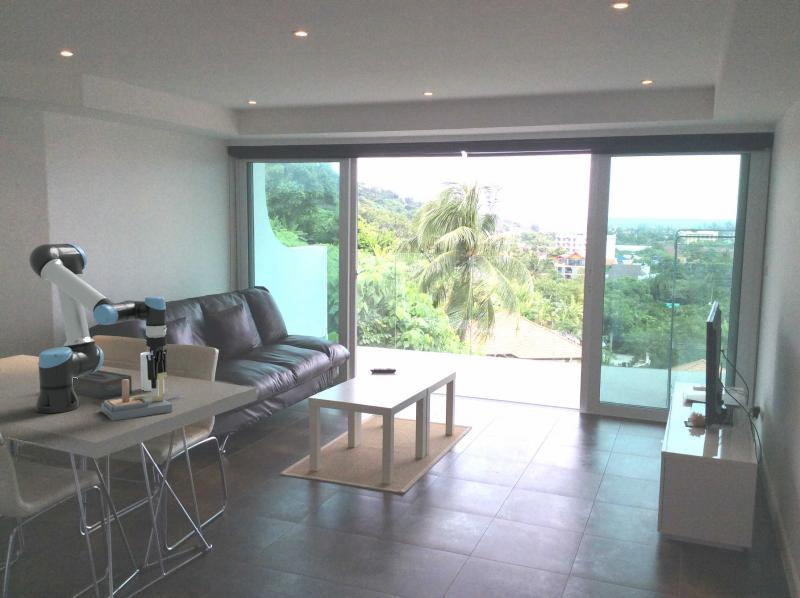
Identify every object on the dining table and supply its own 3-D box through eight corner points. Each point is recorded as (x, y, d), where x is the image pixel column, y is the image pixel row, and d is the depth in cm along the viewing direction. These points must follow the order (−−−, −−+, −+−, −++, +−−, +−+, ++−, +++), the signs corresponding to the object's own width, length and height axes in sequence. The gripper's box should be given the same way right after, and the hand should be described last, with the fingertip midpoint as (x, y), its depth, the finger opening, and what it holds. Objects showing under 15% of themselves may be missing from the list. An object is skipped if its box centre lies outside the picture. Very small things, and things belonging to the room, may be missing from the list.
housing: (112, 420, 249) (112, 408, 248) (101, 411, 261) (101, 399, 261) (172, 411, 262) (171, 400, 261) (159, 403, 274) (158, 392, 274)
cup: (138, 391, 295) (137, 354, 293) (145, 386, 303) (144, 351, 301) (157, 391, 295) (156, 355, 293) (163, 386, 303) (162, 351, 302)
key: (133, 403, 261) (132, 375, 260) (132, 402, 263) (132, 374, 262) (167, 400, 267) (166, 372, 265) (166, 398, 269) (165, 371, 268)
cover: (115, 410, 252) (114, 383, 251) (108, 404, 260) (108, 379, 259) (143, 406, 258) (142, 380, 257) (135, 400, 266) (134, 375, 265)
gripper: (155, 339, 255) (157, 400, 257) (174, 332, 272) (176, 389, 274) (136, 339, 255) (138, 399, 257) (156, 332, 272) (158, 389, 275)
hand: (157, 394), depth 266 cm, fingers closed on key, 4 cm apart
